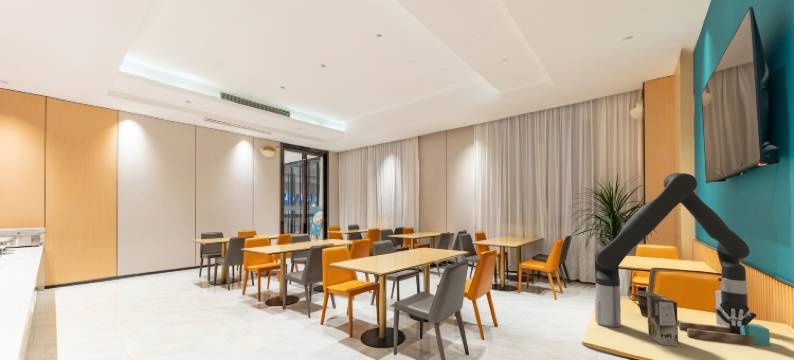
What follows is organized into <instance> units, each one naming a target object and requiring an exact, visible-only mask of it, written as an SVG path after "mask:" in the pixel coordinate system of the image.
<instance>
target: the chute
mask: <svg viewBox="0 0 794 360" xmlns="http://www.w3.org/2000/svg"><path fill="white" fill-rule="evenodd" d="M678 330H680V331H685V332H686V336H687V337H688V338H691V339H698V340H699V339H701V340H707V341H714V342H715V341H716V342H717V341H718V342H724V343H725V342H726V343H732V344H740V345H749V346H754V345H755V344H754V337H752V336H749V335H740V334H732V333H731V332H730V331H729V327H727V326H723V325H713V324H712V325H711V324H703V323H696V322H695V323H694V322H687V321H678Z"/></svg>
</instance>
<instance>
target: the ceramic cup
mask: <svg viewBox="0 0 794 360" xmlns="http://www.w3.org/2000/svg"><path fill="white" fill-rule="evenodd" d="M631 296H634V297H635V298H636V300H637V302H638V303H637V302H636V301H635V300H634V299H632V298H631ZM647 296H662V295H661V294H658V293H655V292H649V291H637V292H636V293H630V294H629V295H628V298H629V299H630V300H631V301H632V302H634V304H635V305H637V307H638V308H639V311H640V314H641V316H642V317H645V318H648V306H647Z"/></svg>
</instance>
